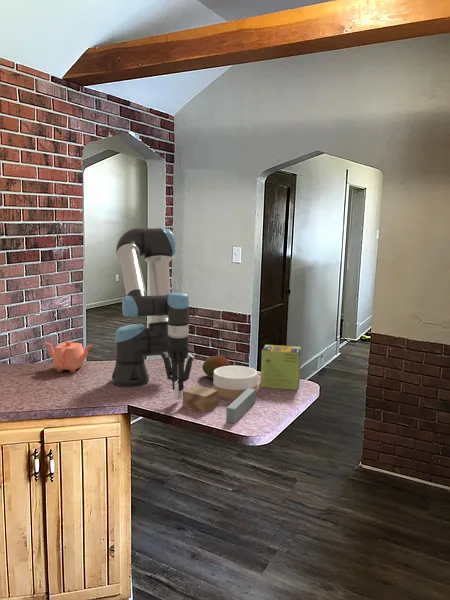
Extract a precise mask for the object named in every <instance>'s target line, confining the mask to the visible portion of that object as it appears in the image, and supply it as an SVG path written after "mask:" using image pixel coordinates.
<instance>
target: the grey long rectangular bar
mask: <svg viewBox="0 0 450 600" xmlns="http://www.w3.org/2000/svg"><path fill="white" fill-rule="evenodd" d="M256 395H257V394H256V389H250V388H248V389H247V390H246V391H244V392H243V393H242V394H241V395H240V396H239V397H238V398H237V399H234V400H233V401H232V402H231V403H230V404H229V405H228V406H227V407H226V413H225V414H226V420H225V422H226V423H231V424H236V423H237V421H239V420H240V419H241V418H242V416H244V414H245V413H246V412H247V411H248V410H249V409H250V408H251V407H252V406H253V405H254V404H256Z"/></svg>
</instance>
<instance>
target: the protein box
mask: <svg viewBox="0 0 450 600" xmlns="http://www.w3.org/2000/svg"><path fill="white" fill-rule="evenodd" d="M301 349H302V346H295V345H294V346H293V345H292V346H291V345H277V344H275V345H274V344H264V346H263V348H262V349H261V359H260V361H261V362H260V363H261V365H260V388H271V389H279V390H281V389H282V390H283V389H284V390H290V389H291V390H293V391H298V390H299V386H300V379H301V378H300V377H301V353H302V351H301Z"/></svg>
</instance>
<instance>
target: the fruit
mask: <svg viewBox="0 0 450 600" xmlns="http://www.w3.org/2000/svg"><path fill="white" fill-rule="evenodd" d="M223 366H231V364H230V362H229V360H228V359H227V358H226V357H225V356H223V355H212V356H210V357H208V358H207V359H206V360H204V362H203V364H202V371H203V372H204V373H205V375H207V377H209V378H211V379H213V376H214V370H215V369H217V368H219V367H223Z"/></svg>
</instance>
